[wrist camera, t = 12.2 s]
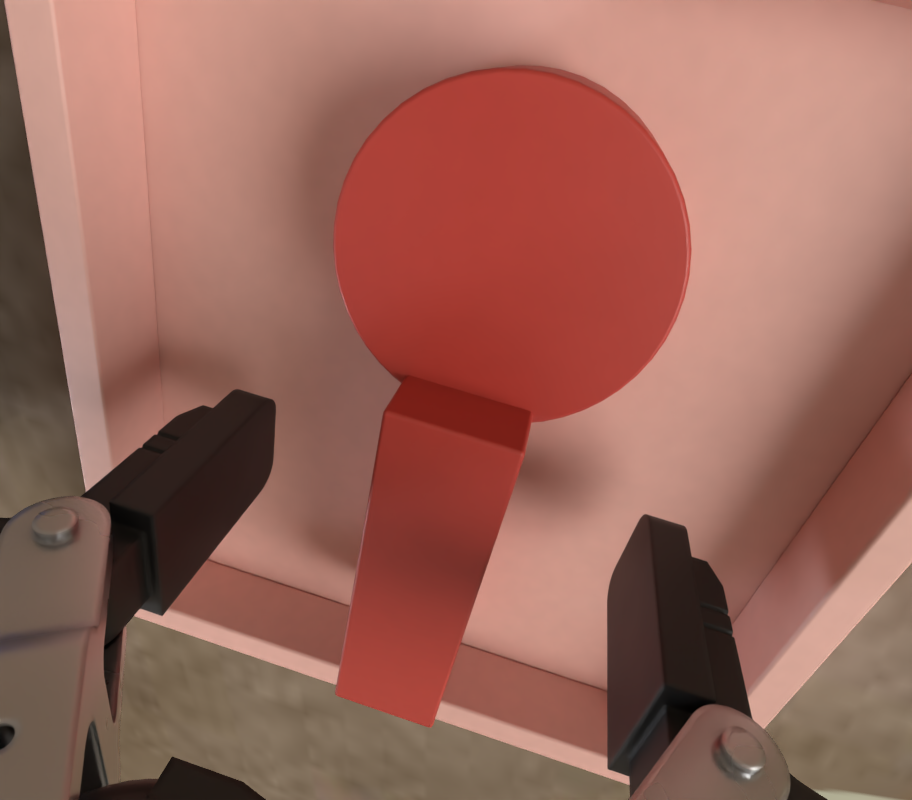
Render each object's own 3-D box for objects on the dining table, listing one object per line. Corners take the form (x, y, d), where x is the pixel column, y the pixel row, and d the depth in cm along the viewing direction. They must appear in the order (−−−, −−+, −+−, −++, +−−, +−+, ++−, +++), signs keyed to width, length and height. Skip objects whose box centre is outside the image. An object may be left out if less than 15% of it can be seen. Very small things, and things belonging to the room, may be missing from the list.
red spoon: (518, 629, 15) (499, 753, 12) (326, 566, 16) (268, 674, 13) (733, 112, 9) (790, 138, 6) (398, 28, 9) (311, 17, 6)
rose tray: (98, -242, 9) (-54, -332, 7) (1210, 4, 8) (1431, -14, 6) (162, 543, 18) (104, 607, 16) (684, 715, 16) (695, 809, 14)
